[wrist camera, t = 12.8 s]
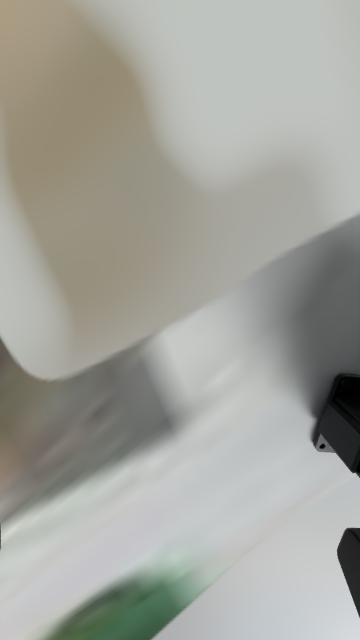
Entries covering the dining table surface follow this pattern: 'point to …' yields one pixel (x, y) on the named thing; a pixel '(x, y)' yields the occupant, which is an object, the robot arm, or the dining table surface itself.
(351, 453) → the robot arm
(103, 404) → the dining table surface
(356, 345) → the dining table surface
